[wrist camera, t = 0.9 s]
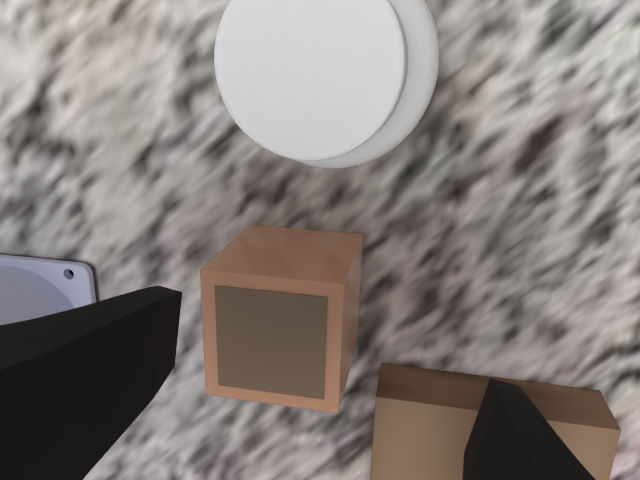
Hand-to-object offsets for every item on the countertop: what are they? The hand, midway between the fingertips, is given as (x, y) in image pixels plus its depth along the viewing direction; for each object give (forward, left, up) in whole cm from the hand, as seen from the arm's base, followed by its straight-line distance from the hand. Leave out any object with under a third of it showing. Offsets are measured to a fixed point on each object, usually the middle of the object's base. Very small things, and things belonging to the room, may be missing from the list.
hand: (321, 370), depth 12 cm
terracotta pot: (-3, -2, -11) cm, 11 cm away
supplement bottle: (-1, +7, -11) cm, 13 cm away
